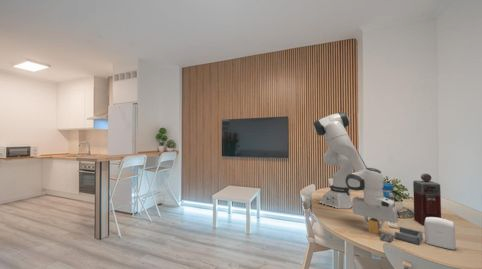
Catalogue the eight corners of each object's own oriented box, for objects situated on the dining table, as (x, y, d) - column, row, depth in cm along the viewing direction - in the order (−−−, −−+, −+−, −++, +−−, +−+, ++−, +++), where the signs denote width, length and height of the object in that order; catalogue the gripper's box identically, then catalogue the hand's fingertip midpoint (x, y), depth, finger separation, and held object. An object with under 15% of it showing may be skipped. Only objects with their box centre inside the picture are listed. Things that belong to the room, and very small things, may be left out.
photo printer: (424, 243, 101) (423, 216, 101) (425, 240, 104) (424, 214, 104) (456, 251, 94) (455, 222, 94) (455, 247, 97) (454, 219, 97)
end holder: (395, 238, 106) (395, 232, 106) (400, 232, 113) (399, 226, 113) (419, 245, 99) (418, 238, 99) (422, 238, 106) (422, 231, 106)
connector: (368, 231, 114) (368, 218, 114) (371, 229, 117) (370, 216, 117) (377, 234, 111) (377, 220, 111) (379, 231, 114) (379, 218, 114)
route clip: (380, 240, 105) (380, 235, 105) (383, 236, 108) (383, 232, 108) (390, 242, 102) (390, 238, 102) (393, 239, 105) (393, 235, 105)
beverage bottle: (379, 218, 133) (378, 185, 133) (378, 214, 140) (377, 182, 141) (396, 220, 129) (395, 186, 130) (394, 216, 137) (393, 183, 137)
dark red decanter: (425, 227, 119) (423, 175, 120) (413, 219, 130) (412, 172, 131) (444, 228, 117) (443, 175, 118) (431, 220, 128) (430, 172, 129)
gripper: (350, 197, 120) (350, 222, 120) (395, 205, 105) (395, 234, 105) (354, 195, 124) (355, 219, 124) (398, 202, 109) (399, 230, 109)
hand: (374, 226), depth 114 cm, fingers closed on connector, 4 cm apart
